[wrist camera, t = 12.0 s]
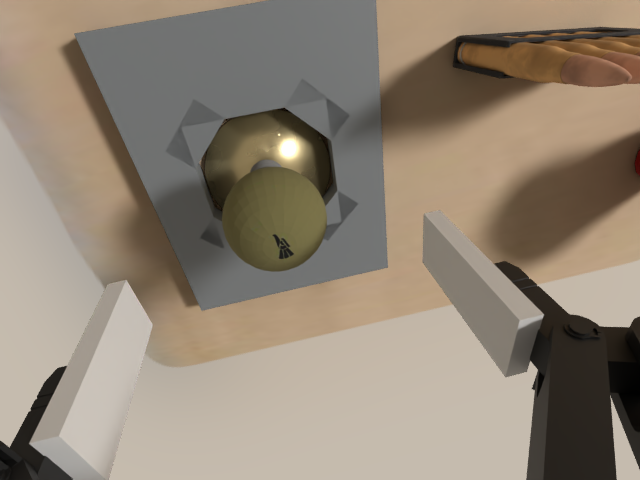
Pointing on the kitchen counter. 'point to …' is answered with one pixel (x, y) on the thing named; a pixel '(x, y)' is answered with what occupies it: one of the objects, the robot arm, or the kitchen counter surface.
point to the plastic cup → (638, 163)
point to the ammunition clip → (555, 55)
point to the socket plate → (252, 128)
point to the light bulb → (274, 218)
